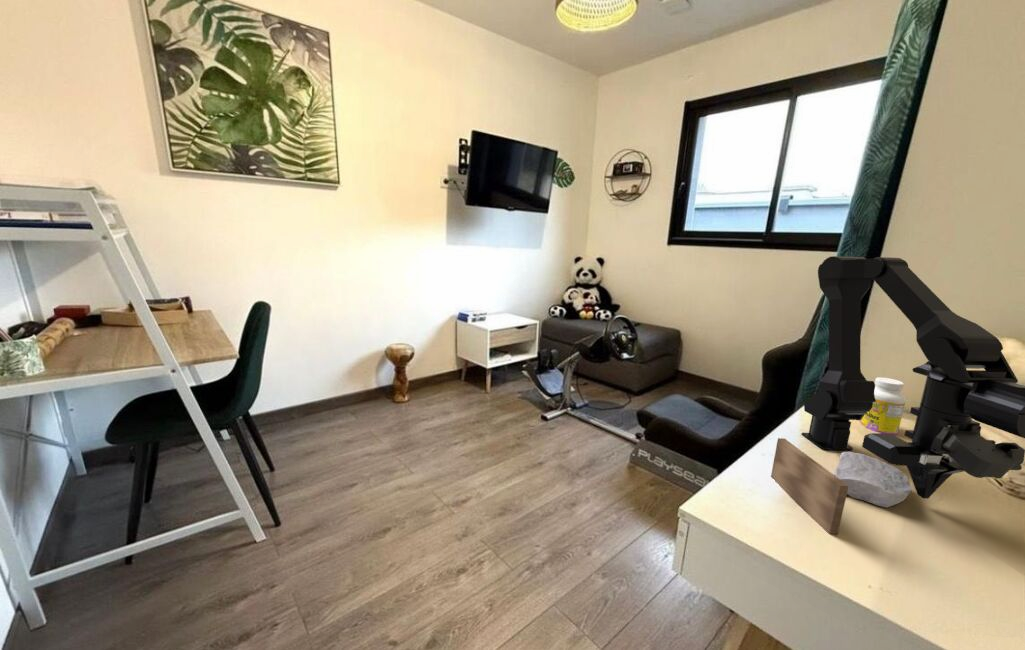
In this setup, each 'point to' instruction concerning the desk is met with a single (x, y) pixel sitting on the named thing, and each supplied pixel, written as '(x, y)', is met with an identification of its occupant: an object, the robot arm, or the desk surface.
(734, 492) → the desk surface
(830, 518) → the walnut plate
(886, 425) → the supplement bottle
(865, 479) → the stone block
